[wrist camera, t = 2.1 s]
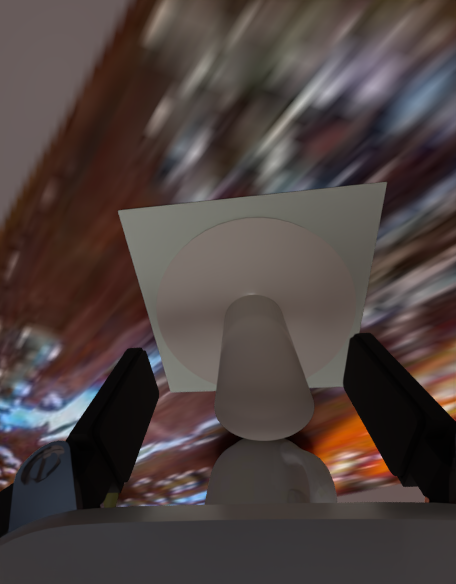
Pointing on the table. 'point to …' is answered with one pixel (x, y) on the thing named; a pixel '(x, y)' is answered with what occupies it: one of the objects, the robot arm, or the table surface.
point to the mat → (286, 206)
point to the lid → (257, 319)
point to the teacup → (269, 475)
